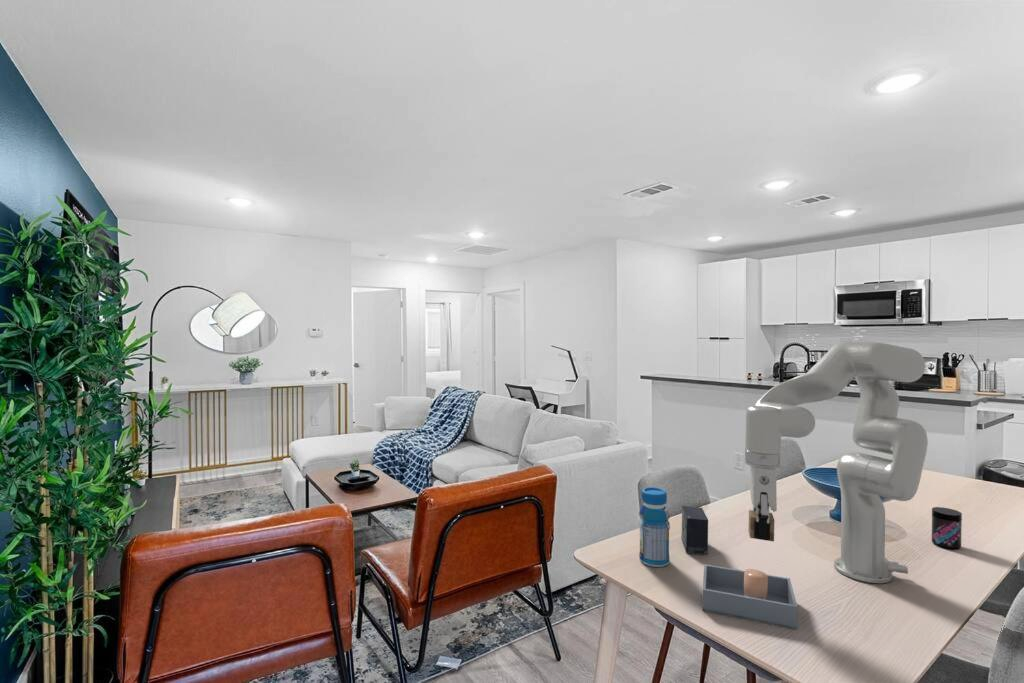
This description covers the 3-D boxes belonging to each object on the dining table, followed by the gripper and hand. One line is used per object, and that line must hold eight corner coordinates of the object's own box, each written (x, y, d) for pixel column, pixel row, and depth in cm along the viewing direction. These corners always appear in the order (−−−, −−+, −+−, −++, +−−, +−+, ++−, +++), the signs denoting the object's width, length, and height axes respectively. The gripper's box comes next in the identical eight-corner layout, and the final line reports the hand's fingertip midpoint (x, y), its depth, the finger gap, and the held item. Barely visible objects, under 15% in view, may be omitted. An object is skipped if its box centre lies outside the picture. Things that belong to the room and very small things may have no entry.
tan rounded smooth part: (765, 612, 113) (766, 582, 112) (741, 605, 115) (742, 575, 115) (767, 602, 117) (768, 573, 117) (744, 595, 120) (745, 567, 119)
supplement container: (925, 542, 149) (926, 508, 149) (941, 539, 151) (941, 505, 151) (951, 552, 143) (952, 516, 142) (967, 548, 145) (967, 513, 144)
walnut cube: (771, 533, 119) (771, 512, 119) (773, 541, 114) (774, 520, 114) (748, 530, 121) (748, 509, 121) (750, 537, 116) (750, 516, 116)
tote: (789, 598, 119) (789, 578, 119) (797, 629, 107) (797, 607, 107) (704, 583, 127) (704, 564, 126) (702, 610, 114) (702, 589, 114)
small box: (709, 555, 142) (709, 519, 142) (685, 553, 143) (685, 518, 143) (702, 540, 153) (702, 506, 152) (680, 538, 154) (680, 505, 154)
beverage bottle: (652, 570, 133) (652, 497, 133) (632, 557, 141) (632, 488, 141) (676, 564, 137) (676, 492, 137) (655, 552, 145) (655, 484, 144)
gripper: (785, 469, 108) (783, 551, 108) (775, 452, 124) (773, 524, 124) (747, 465, 111) (745, 545, 111) (742, 449, 126) (741, 519, 127)
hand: (760, 533), depth 117 cm, fingers closed on walnut cube, 5 cm apart
